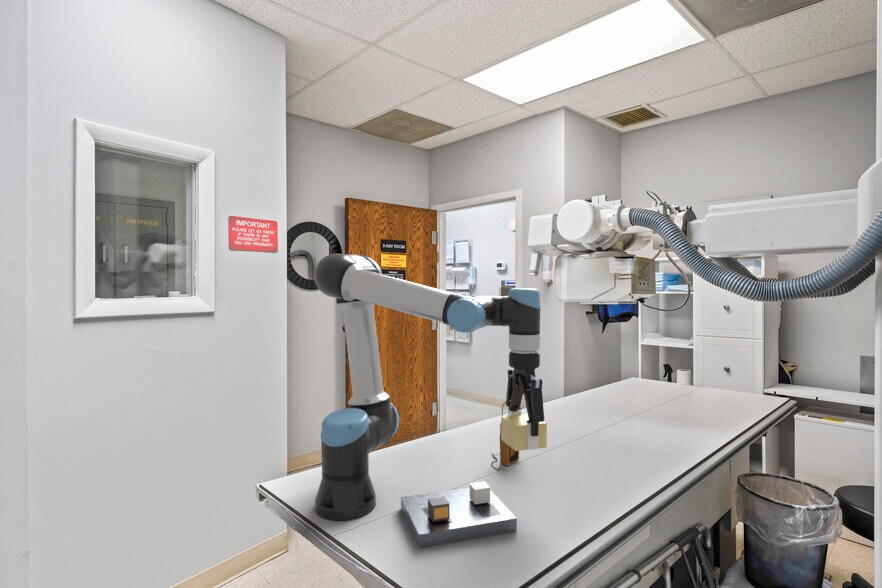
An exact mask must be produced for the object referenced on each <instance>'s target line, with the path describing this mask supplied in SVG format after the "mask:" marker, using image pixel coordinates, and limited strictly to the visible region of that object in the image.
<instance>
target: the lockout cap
mask: <svg viewBox="0 0 882 588" xmlns="http://www.w3.org/2000/svg"><path fill="white" fill-rule="evenodd" d="M528 420H529V418H528V413H523V414H522V413H521V414H520V415H509V416H508V415H503V416H502V415H501V418H500V421H501V422H500V424H501V440H502V441H504V442H505V443H506V444H507V445H509V446H510V447H511V448H512V449H514V450H515V451H519V452H520V451H528V449H527V422H526V421H528ZM547 427H548V423H547V422H546V421H545V420H544V421H543V422H539V434H538V449H545V448H547V444H548V443H547V440H548V439H547V438H548V437H547V433H548V432H547V430H548V429H547Z"/></svg>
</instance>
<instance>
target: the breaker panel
mask: <svg viewBox="0 0 882 588" xmlns="http://www.w3.org/2000/svg"><path fill="white" fill-rule="evenodd" d="M443 496H445V498H446V499H447V501H448V502H449V519H447V520H441V521H435V522H432V520H431V518H430V517H429V515H428V499H430V498H437V497H443ZM400 510H401V512H402V514H403V517H404V518H405V521H406V523H407V525H408V527H409V529H410V532H411V534H412V535H413V539H414V540H415V542H416V545H417V548H418V549H423V548H428V547H435V546H441V545H445V544H446V545H447V544H453V543H457V542H463V541H467V540H473V539H480V538H486V537H491V536H496V535H502V534H507V533H508V534H509V533H512V532H517V529H518V527H517V519H518V517H516V516H515V515H514V513H513V512H512V511H511V510H510V509H509V508H508V507H507V506H506V505H505V504H504V503H503V502H502V500H501V499H500V498H499V497H498V496H497V495H496V494H495V492H493V490H491V489H490V502H487V503H480V504H474V503H473V501H472V500H471V499H470V486H469V487H464V488H456V489H449V490H442V491H437V492H436V491H435V492H429V493H422V494H415V495H414V494H413V495H408V496H401V497H400Z"/></svg>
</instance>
